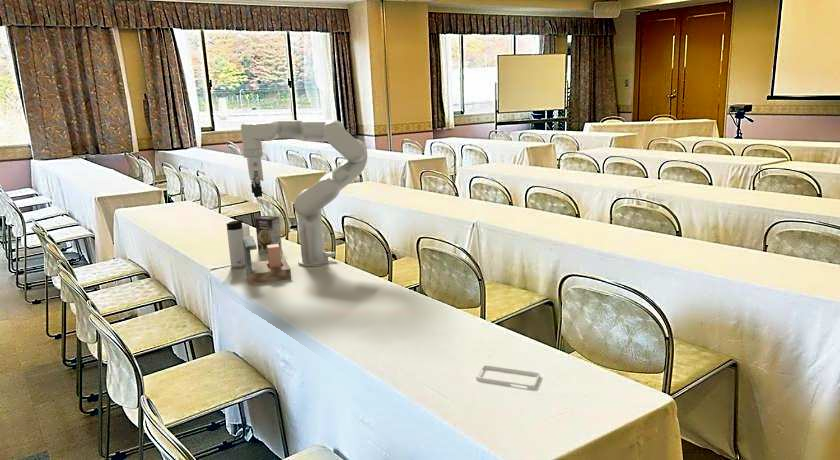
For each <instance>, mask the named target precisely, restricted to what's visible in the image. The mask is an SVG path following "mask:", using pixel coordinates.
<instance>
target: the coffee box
mask: <svg viewBox="0 0 840 460" xmlns="http://www.w3.org/2000/svg"><path fill="white" fill-rule="evenodd" d="M254 219H255V231H256V240H257V250H258V251H257V252H258V253H261V254H262V253H264V254H268V252H267V245H273V244H279V246H280V252H281V251H282V250H283V248H282V236H281V234H282V233H281V222H280V216H273V215H261V216H258V217H255V218H254Z"/></svg>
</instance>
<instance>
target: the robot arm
mask: <svg viewBox="0 0 840 460" xmlns="http://www.w3.org/2000/svg"><path fill="white" fill-rule="evenodd" d="M240 133H241V142H242V151H243V158H245V159H246V161H247V162H246V163H247V170H248V176H249V179H250V186H251V193H252V194H253V197H254V198H261V197H263V189H262V184H261V181H262V182H263V181H264V174H263V173H264V172H263V164H262V159H261V158H262V157H263V155H264V154H263V153H264V152H263V145H262V144H263V142H262V141H274V140H275V139H294V140H295V139H296V140H299V141H302V142H327V143H328V144H329V145H330V146H331V147H332V148H333V149H335V150H336V151H337V152H338V153H339V154H340V155H341V156H342V157H343V158H345V159H344V161H342V162H341V163H340V164H338V165H337V166H336V167H335V168H334V169H332V170H331V171H330V172H328V173H326V174H325V175H322V176H321V177H320V178H319V179H318V181H316V182H315V183H314V184H312V185H311V186H310V187H309V188H305V189H302V190H301V191H300V192H299V193H298V195H297V196H296V197H295V200H294V205H293V207H294V211H295V212H296V213H297V214H298V227H299V228H298V229H299V230H298V231H299V241H300V242H299V243H300V253H301V258H300V259H299V260H298V265H299V266H302V267H310V268H311V267H318V266H323V265H325V264H328V263H329V257H330V258H332V257H336V251H325V247H324V235H323V233H324V231H323V219H322V218H323V217H322V215H323V214H322V209H323V208H324V207H325V206H327V205H328V204H330V203H331V202H332V201H334V200H335V199H336V198H337V197H338V195H339V194H340V192H341V190H343V189H344V188H346V187H347V186H348V185H349V184H351V183H352V182H353V181H354V180H356V179H357V178H358V177H359V176H360V175H361V174H362V172H363V171H364V170H365V167H366V166H367V162H368V149H367V145H366V144H365V142H364V141H363V140H361V139H358V138H355V137H354V136H353V135H351V133H349V131H347V130H346V129H345V126H344V124H343V123H342V122H341V121H340V120H336V119H298V120H297V119H296V120H293V119H292V120H291V119H290V120H288V119H287V120H286V119H285V120H282V119H281V120H280V119H279V120H277V119H275V120H272V119H271V120H268V121H265V122H254V121H253V122H252V121H250V122H244V123H241V125H240Z"/></svg>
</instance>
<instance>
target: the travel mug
mask: <svg viewBox="0 0 840 460" xmlns="http://www.w3.org/2000/svg"><path fill="white" fill-rule="evenodd" d="M242 224H243V220H232V221H228V223H226V231H227V241H228V250H229V257H230V259H229V261H230V268H231V269H234V270H241V269H244V268H246V267H245V257H244V248H243V238H242V237H243V228H242Z"/></svg>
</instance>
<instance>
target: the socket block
mask: <svg viewBox="0 0 840 460" xmlns="http://www.w3.org/2000/svg"><path fill="white" fill-rule="evenodd" d="M242 238H243V248H244V257H245V267H244V268H245V273H246V277H247V280H248V285H255V284H260V283H261V284H262V283H269V282H277V281H283V280H291V279H292V271H291V267H290V265H289V263H288V262H287V259H286V258H281V267H273V268H269V263H268V260H262V261H260V260H259V261H254V262H252V258H251V257H252V256H251V255H252V254H251V251H255V250H258V245H257V244H256V242H255V239H254V236H253V235H250V236H249V237H242Z"/></svg>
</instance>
